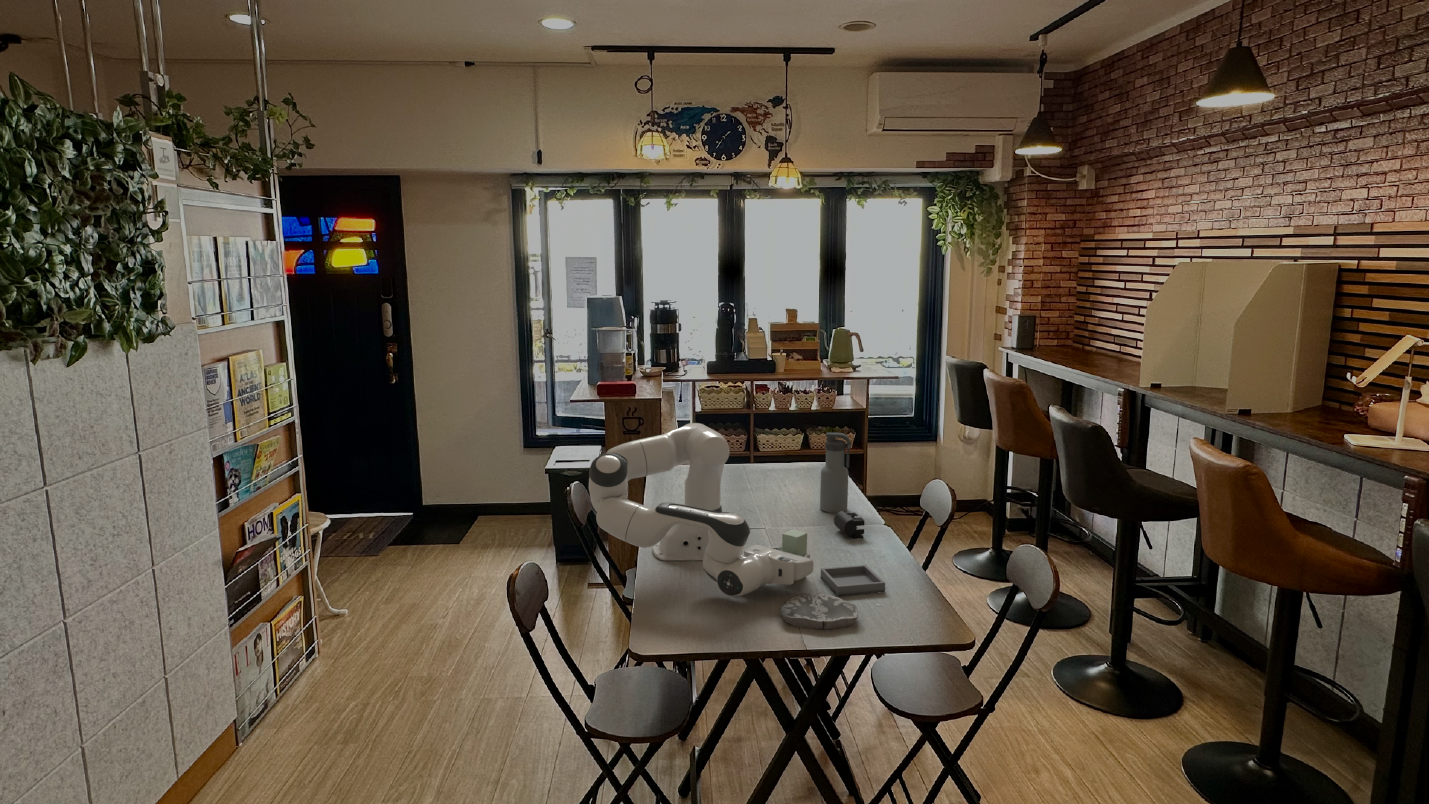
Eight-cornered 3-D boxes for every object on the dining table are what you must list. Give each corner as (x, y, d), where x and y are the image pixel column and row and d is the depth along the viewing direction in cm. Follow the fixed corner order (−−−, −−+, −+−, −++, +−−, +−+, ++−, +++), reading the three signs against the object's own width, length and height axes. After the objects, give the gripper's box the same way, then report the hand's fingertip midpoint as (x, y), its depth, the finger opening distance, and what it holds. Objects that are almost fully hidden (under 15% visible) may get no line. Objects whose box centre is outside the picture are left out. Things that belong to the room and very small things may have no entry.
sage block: (796, 581, 237) (797, 537, 234) (781, 577, 240) (782, 533, 237) (806, 576, 240) (807, 533, 238) (791, 572, 243) (792, 529, 241)
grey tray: (837, 596, 226) (837, 586, 226) (820, 577, 239) (820, 568, 239) (884, 592, 229) (885, 582, 229) (865, 574, 242) (865, 564, 242)
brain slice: (849, 603, 222) (849, 593, 222) (862, 632, 206) (863, 620, 205) (775, 604, 222) (775, 594, 221) (782, 633, 205) (782, 621, 204)
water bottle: (847, 506, 308) (850, 431, 303) (849, 514, 299) (851, 436, 294) (819, 505, 309) (821, 430, 304) (820, 513, 300) (822, 436, 295)
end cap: (833, 530, 281) (833, 511, 280) (853, 529, 282) (853, 509, 281) (843, 540, 271) (844, 520, 270) (864, 538, 273) (865, 518, 272)
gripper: (734, 568, 235) (763, 555, 245) (795, 586, 222) (823, 571, 232) (734, 546, 233) (764, 534, 244) (796, 563, 221) (824, 549, 231)
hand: (793, 552), depth 238 cm, fingers open, 8 cm apart
